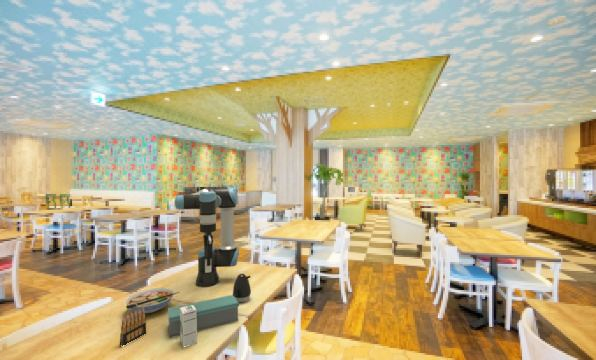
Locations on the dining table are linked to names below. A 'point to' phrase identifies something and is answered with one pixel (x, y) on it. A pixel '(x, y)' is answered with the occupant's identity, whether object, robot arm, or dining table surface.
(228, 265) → the robot arm
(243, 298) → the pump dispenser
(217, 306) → the cover
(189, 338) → the syrup box
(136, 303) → the ramen bowl
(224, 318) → the gray open box
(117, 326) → the dining table surface
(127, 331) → the ammunition clip
